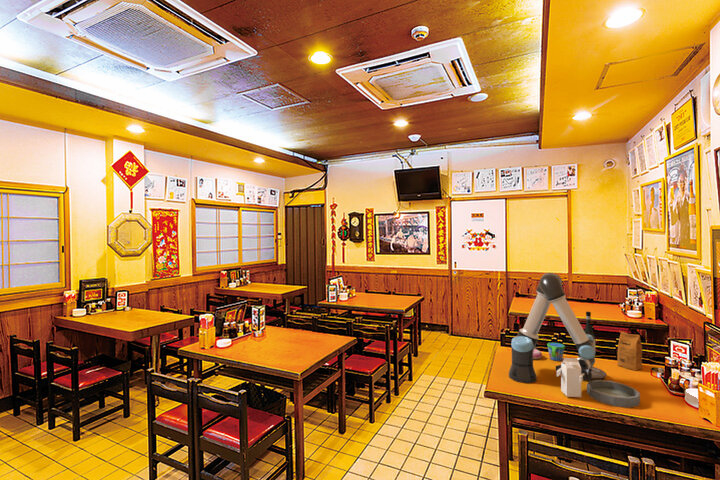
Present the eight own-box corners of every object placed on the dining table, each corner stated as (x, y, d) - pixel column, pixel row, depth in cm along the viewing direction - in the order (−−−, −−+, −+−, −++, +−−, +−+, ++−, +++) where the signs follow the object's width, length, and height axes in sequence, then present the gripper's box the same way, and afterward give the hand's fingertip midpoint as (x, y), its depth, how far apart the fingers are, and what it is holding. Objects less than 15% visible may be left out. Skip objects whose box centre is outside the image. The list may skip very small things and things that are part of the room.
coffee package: (623, 362, 236) (623, 329, 235) (645, 369, 224) (644, 334, 224) (614, 365, 232) (613, 331, 231) (635, 371, 220) (635, 336, 220)
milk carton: (561, 390, 193) (561, 355, 193) (575, 391, 192) (575, 356, 192) (566, 396, 186) (566, 360, 186) (581, 397, 185) (581, 361, 185)
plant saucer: (590, 385, 202) (590, 379, 202) (558, 372, 221) (558, 367, 221) (614, 379, 210) (614, 373, 210) (581, 367, 229) (581, 362, 229)
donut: (544, 360, 242) (544, 353, 242) (523, 360, 244) (523, 352, 244) (538, 354, 255) (538, 347, 255) (518, 353, 258) (518, 346, 258)
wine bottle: (596, 356, 249) (596, 313, 249) (583, 355, 252) (583, 312, 252) (593, 352, 257) (593, 311, 257) (581, 351, 260) (580, 310, 259)
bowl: (596, 404, 179) (595, 395, 179) (582, 386, 200) (581, 378, 200) (647, 409, 173) (647, 400, 173) (627, 390, 194) (627, 382, 194)
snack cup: (551, 354, 253) (551, 340, 253) (568, 358, 246) (568, 343, 246) (543, 360, 243) (543, 345, 242) (560, 364, 235) (560, 348, 235)
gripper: (604, 377, 193) (593, 390, 178) (559, 367, 210) (545, 377, 194) (604, 364, 193) (593, 375, 178) (559, 354, 210) (545, 363, 194)
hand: (568, 376), depth 186 cm, fingers closed on milk carton, 10 cm apart
